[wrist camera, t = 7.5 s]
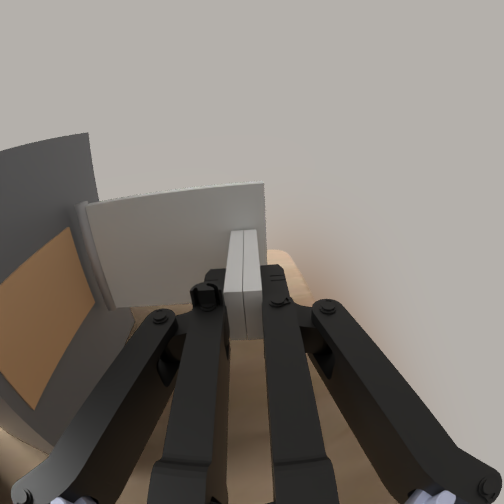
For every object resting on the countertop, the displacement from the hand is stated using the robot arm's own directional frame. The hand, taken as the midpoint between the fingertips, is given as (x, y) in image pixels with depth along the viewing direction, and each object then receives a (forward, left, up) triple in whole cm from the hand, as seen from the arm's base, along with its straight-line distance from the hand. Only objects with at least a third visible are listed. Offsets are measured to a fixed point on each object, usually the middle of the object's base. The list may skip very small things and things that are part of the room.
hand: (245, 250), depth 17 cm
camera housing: (-12, -10, -9) cm, 18 cm away
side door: (-4, -2, -4) cm, 6 cm away
